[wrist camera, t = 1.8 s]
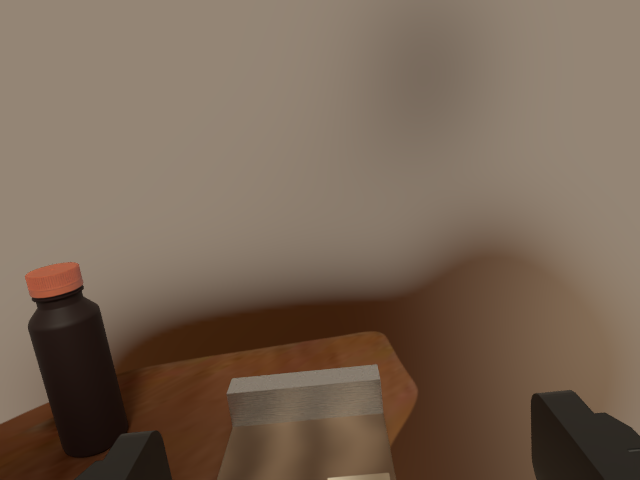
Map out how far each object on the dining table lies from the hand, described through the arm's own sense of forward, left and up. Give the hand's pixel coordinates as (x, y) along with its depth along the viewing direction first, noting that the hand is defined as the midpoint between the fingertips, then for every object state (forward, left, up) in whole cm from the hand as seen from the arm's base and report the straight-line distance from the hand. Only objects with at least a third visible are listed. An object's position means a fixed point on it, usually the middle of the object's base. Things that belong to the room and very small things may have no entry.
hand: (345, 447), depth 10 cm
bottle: (-29, +37, -25) cm, 53 cm away
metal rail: (-5, +37, -24) cm, 44 cm away
